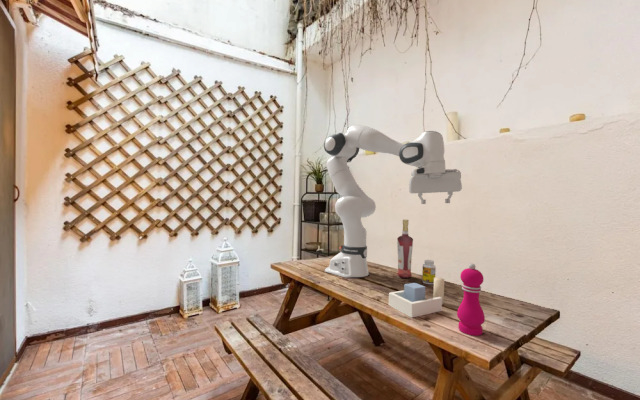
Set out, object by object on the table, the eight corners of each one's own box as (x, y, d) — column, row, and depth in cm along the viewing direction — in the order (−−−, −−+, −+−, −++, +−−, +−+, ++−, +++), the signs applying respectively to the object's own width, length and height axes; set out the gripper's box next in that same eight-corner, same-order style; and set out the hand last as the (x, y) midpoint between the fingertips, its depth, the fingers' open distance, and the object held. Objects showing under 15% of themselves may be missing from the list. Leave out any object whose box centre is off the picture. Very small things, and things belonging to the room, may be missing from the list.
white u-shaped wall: (411, 317, 92) (411, 303, 92) (388, 305, 102) (388, 292, 102) (441, 310, 98) (441, 297, 98) (416, 299, 108) (417, 287, 108)
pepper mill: (455, 323, 89) (457, 259, 88) (482, 327, 86) (484, 262, 86) (457, 333, 82) (459, 264, 82) (486, 338, 79) (488, 267, 79)
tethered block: (414, 311, 97) (414, 285, 97) (403, 306, 101) (404, 281, 101) (447, 304, 104) (448, 280, 104) (436, 299, 109) (437, 276, 108)
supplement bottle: (419, 281, 132) (420, 259, 132) (429, 280, 134) (430, 259, 134) (427, 285, 127) (428, 262, 127) (437, 284, 128) (438, 261, 128)
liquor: (413, 279, 135) (415, 220, 134) (397, 278, 135) (399, 220, 135) (410, 275, 142) (411, 219, 141) (395, 274, 143) (396, 219, 142)
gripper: (458, 169, 119) (459, 202, 118) (407, 172, 122) (409, 204, 121) (463, 167, 112) (465, 202, 112) (409, 170, 116) (411, 204, 115)
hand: (435, 203), depth 117 cm, fingers open, 8 cm apart
